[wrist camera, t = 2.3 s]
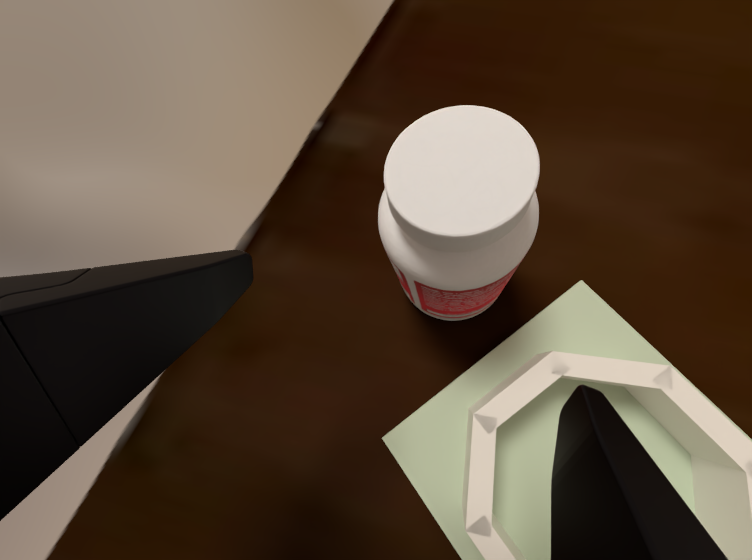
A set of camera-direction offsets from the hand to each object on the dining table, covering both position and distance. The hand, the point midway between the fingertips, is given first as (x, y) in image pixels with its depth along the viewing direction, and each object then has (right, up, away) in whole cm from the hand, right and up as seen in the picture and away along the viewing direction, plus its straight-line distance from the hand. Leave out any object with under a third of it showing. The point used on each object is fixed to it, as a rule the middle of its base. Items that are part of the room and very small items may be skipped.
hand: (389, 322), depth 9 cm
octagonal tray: (+10, -9, +8) cm, 15 cm away
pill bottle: (+4, +1, +12) cm, 13 cm away
